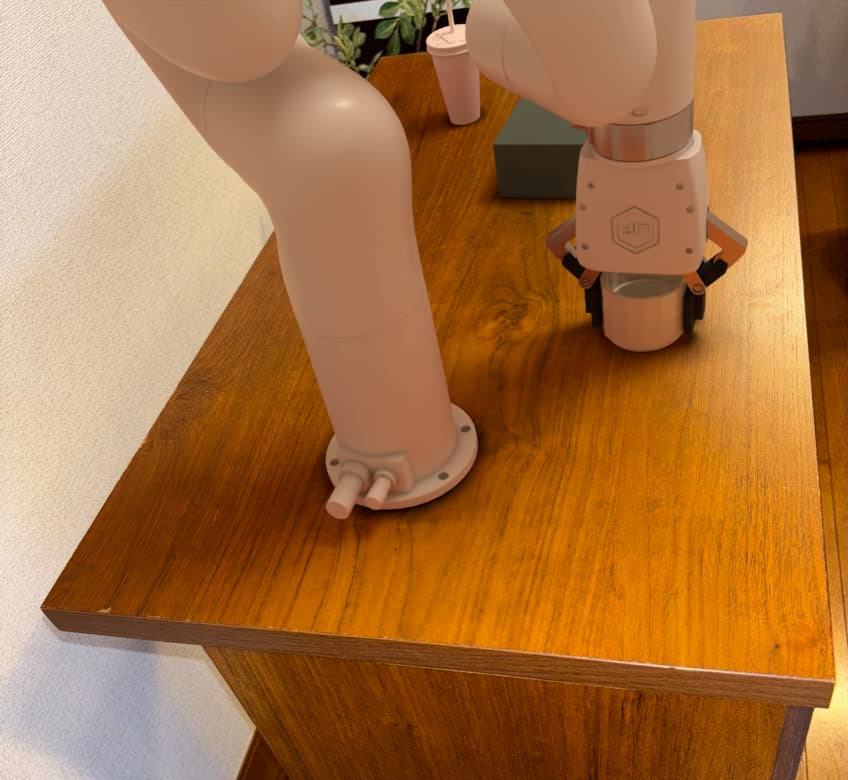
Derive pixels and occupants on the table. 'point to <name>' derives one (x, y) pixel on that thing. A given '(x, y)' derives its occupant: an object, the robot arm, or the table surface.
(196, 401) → the table surface
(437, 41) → the smoothie
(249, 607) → the table surface
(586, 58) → the robot arm
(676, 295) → the cup
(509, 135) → the stand
